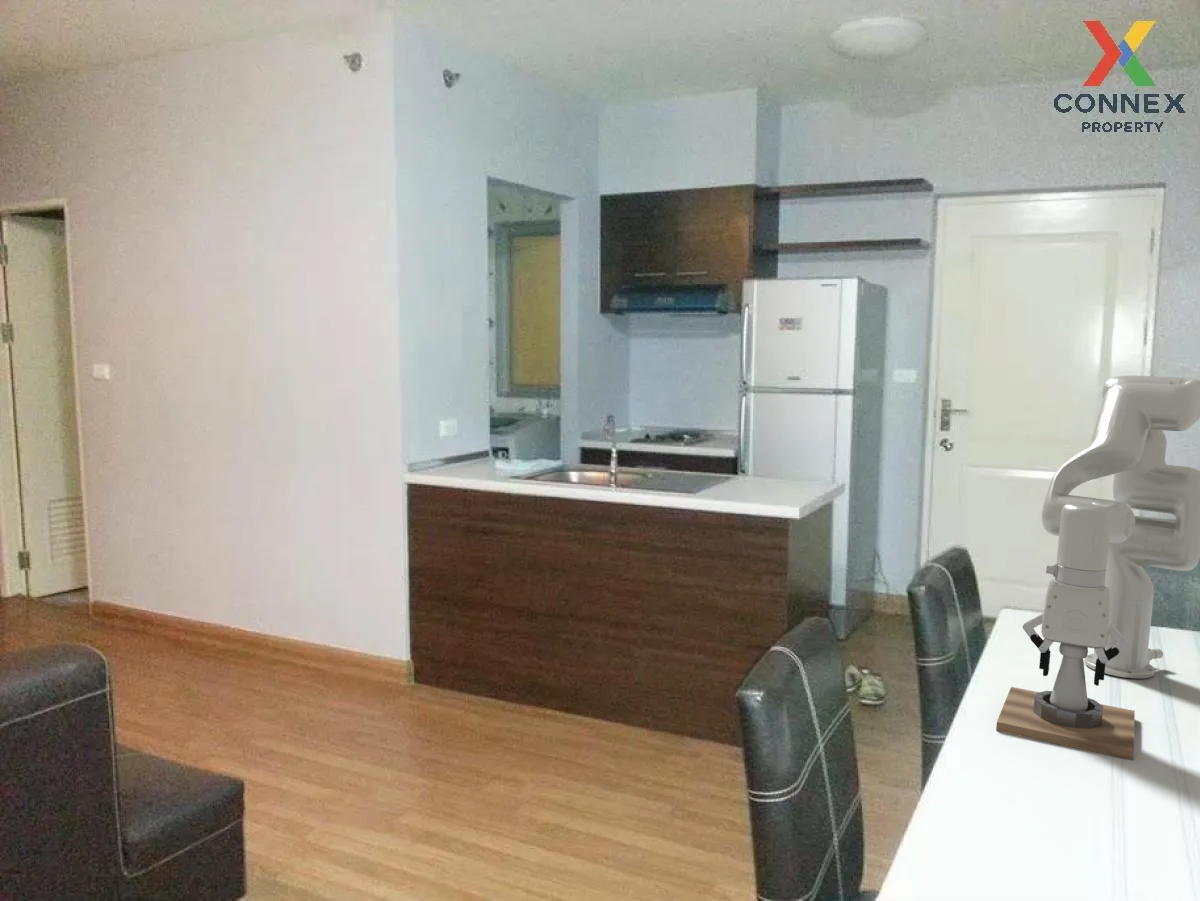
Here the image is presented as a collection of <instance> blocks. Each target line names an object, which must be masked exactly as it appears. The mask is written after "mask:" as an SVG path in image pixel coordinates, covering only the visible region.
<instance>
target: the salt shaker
mask: <svg viewBox="0 0 1200 901" xmlns="http://www.w3.org/2000/svg"><path fill="white" fill-rule="evenodd" d="M1058 649H1059V651H1058V652H1059V653H1060V655H1062V660H1061V662H1060V666H1059V669H1058V672H1057V675H1056V678H1055V682H1054V685H1053V688H1052V690H1051V691H1052V693H1051V697H1050V703H1051V705H1053V706H1056V707H1058V708H1062V709H1067V710H1072V711H1086V709H1087V707H1088V700H1087V698H1088V693H1087V682H1086V672H1085V661H1084V659H1085V658H1086V657H1087V655H1089V649H1088V647H1082V646H1076V645H1070V644H1064V643H1059V648H1058Z"/></svg>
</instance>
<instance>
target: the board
mask: <svg viewBox="0 0 1200 901" xmlns="http://www.w3.org/2000/svg"><path fill="white" fill-rule="evenodd" d="M1039 692H1040V691H1034V690H1030V689H1026V688H1025V689H1024V688H1020V687H1014V686H1011V687H1010V689H1009V691H1008V694H1007V696H1006V699H1005V701H1004V703H1003V705H1002V708H1001V710H1000V712H999V716H998V718H997V720H996V725H995V726H996V727H995V731H996V730H997V731H998V732H1001V731H1002V733H1005V732H1006V733H1005V734H1010V733H1011V734H1010V735H1016V736H1019V735H1020V736H1019V737H1023V738H1024V737H1025V738H1028V737H1029V739H1034V740H1037V741H1043V742H1048V743H1053V744H1056V745H1057V744H1058V745H1061V746H1066V747H1070V748H1075V749H1081V750H1085V751H1089V752H1094V753H1099V754H1103V755H1108V756H1113V757H1117V758H1120V759H1126V760H1131V761H1133V760H1134V755H1135V752H1134V751H1135V718H1136V717H1135V715H1136V714H1135V713H1136V712H1135V710H1133V709H1128V708H1123V707H1117V706H1111V705H1107V704H1102V703H1100V704H1101V705H1102V706H1103V715H1102V724H1101V726H1099V727H1096V728H1092V729H1085V728H1071V727H1067V726H1062V725H1057V724H1054V723H1051V722H1049V721H1046V720H1044V719H1041V718H1040V717H1039V716H1037V715H1036V714H1035V713H1034V712H1033V709H1034V698H1035V695H1036V693H1039Z"/></svg>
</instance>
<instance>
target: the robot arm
mask: <svg viewBox="0 0 1200 901" xmlns="http://www.w3.org/2000/svg"><path fill="white" fill-rule="evenodd" d="M1199 420H1200V380H1199V379H1198V378H1192V377H1172V376H1171V377H1169V376H1153V375H1120V376H1114V377H1110V378H1109V379H1107V380H1106V381H1105V382H1104V384H1103V386H1102V402H1101V405H1100V409H1099V412H1098V415H1097V420H1096V423H1095V426H1094V429H1093V433H1092V436H1091V440H1090V444H1089V446H1088V447H1087V448H1085V449H1083V450H1082V451H1080V452H1078V453H1077V454H1075V455H1073V456H1072V457H1071V458H1070V459H1068V460H1067V461H1066V462H1064V464H1062V465H1061V466H1060V467H1059V468H1058V469H1057V470H1056V472H1055V473H1054V474H1053V476H1052V478H1051V480H1050V482H1049V486H1048V489H1047V493H1046V495H1045V499H1044V503H1043V506H1042V511H1041V523H1042V526H1043V528H1044V530H1045V531H1046V533H1049V534H1050V535H1053V536H1056V537H1058V545H1057V553H1056V554H1057V556H1056V563H1055V564H1054V565H1046V572H1045V573H1046V574H1048V575H1049V574H1050V575H1052V576H1053V577H1054V579H1051V580H1050V582H1049V584H1048V587H1047V590H1046V594H1045V599H1044V605H1043V612H1042V614H1039V615H1037V616H1036V617H1034V618H1032V619H1030V620H1028V621H1026V622H1025V623H1023V625H1022V630H1023V631H1024V632H1025V634H1026V635H1027V637H1029V639H1030V640H1031V642H1032V643H1033V644H1034V646H1035V647H1036V648H1038V651H1039V652H1040V656H1039V668H1038V669H1039V670H1043V671H1042V676H1043V677H1048V675H1049V672H1050V662H1051V661H1050V660H1051V653H1052V652H1051V651H1052V650H1050V647H1051V645H1052V644H1054V643H1059V644H1060V643H1064V644H1070V645H1076V646H1082V647H1088V648H1089V649H1093V653H1091V654H1087V657H1086V658H1084V665H1086V666H1087V667H1089V668H1090V669H1092V670H1094V678H1093V685H1094V686H1099V685H1100V684H1099V683H1100V681H1104V680H1105V674H1106V675H1109V676H1113V677H1119V678H1124V679H1125V678H1126V679H1140V680H1143V679H1149V678H1152V677H1154V676H1155V675H1156V674H1155V673H1156V668H1155V667H1154V666H1153V665H1151V663H1150V661H1152V660H1156V659H1161V658H1163V656H1164V651H1163V650H1162V649H1160V648H1155V649H1154V648H1153V649H1151V648H1149V645H1150V634H1151V625H1152V615H1153V605H1154V604H1153V603H1154V593H1155V589H1154V587H1155V586H1154V585H1153V584H1154V583H1153V581H1152V579H1151V577H1150V575H1148V572H1146V570H1145V569H1144V568H1143V566H1145V567H1153V568H1160V569H1167V570H1172V571H1173V570H1174V571H1180V572H1181V571H1182V572H1184V571H1185V572H1189V571H1191V570H1193V569H1195V568H1196V567H1197V565H1198V564H1199V562H1200V470H1199V469H1197V468H1195V467H1194V468H1193V467H1190V466H1185V465H1183V466H1182V465H1172V464H1171V465H1170V464H1167V463H1166V452H1167V450H1166V449H1167V437H1166V435H1165V433H1164V431H1168V432H1169V431H1170V432H1184V431H1187V430H1188V429H1190V428H1191V427H1193V425H1194V424H1195V423H1196V422H1198V421H1199ZM1112 475H1113V483H1112V484H1113V485H1112V492H1113V499H1114V500H1113V499H1102V498H1096V497H1090V496H1089V497H1088V496H1082V495H1081V496H1080V495H1073V494H1071V492H1072V491H1073V490H1074V489H1076V488H1077V487H1079V486H1080V485H1082V484H1084V483H1087V482H1089V481H1093V480H1096V479H1097V480H1098V479H1099V478H1100V479H1101V478H1105V477H1108V476H1112ZM1070 494H1071V495H1070ZM1133 510H1138V511H1146V512H1154V513H1161V514H1168V515H1170V514H1171V515H1172V516H1174V517H1175V519H1176V520H1167V519H1161V518H1160V519H1159V518H1153V517H1147V516H1138V515H1135V514H1134V512H1133ZM1040 625H1041V631H1040V632H1041V636H1042V637H1043V639H1042V637H1041V636H1040V635H1039V634H1038V633H1037V632H1036V630H1035V628H1037V627H1038V626H1040Z"/></svg>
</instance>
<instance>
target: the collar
mask: <svg viewBox="0 0 1200 901" xmlns="http://www.w3.org/2000/svg"><path fill="white" fill-rule="evenodd" d="M1038 692H1039V693H1036V695H1035V698H1034V709H1033V712H1034V713H1035V714H1036V715H1037V716H1039V717H1040V718H1041V719H1044V720H1046V721H1049V722H1051V723H1054V724H1057V725H1062V726H1067V727H1071V728H1085V729H1092V728H1096V727H1099V726H1101V724H1102V715H1103V706H1102V705H1103V704H1102V703H1099V702H1098V701H1096V700H1095V699H1093V698H1090V697H1087V700H1088V707H1087V709H1086V711H1072V710H1067V709H1062V708H1058V707H1056V706H1053V705H1051V703H1050V697H1051V693H1052V690H1044V691H1038ZM1101 704H1102V705H1101Z"/></svg>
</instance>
